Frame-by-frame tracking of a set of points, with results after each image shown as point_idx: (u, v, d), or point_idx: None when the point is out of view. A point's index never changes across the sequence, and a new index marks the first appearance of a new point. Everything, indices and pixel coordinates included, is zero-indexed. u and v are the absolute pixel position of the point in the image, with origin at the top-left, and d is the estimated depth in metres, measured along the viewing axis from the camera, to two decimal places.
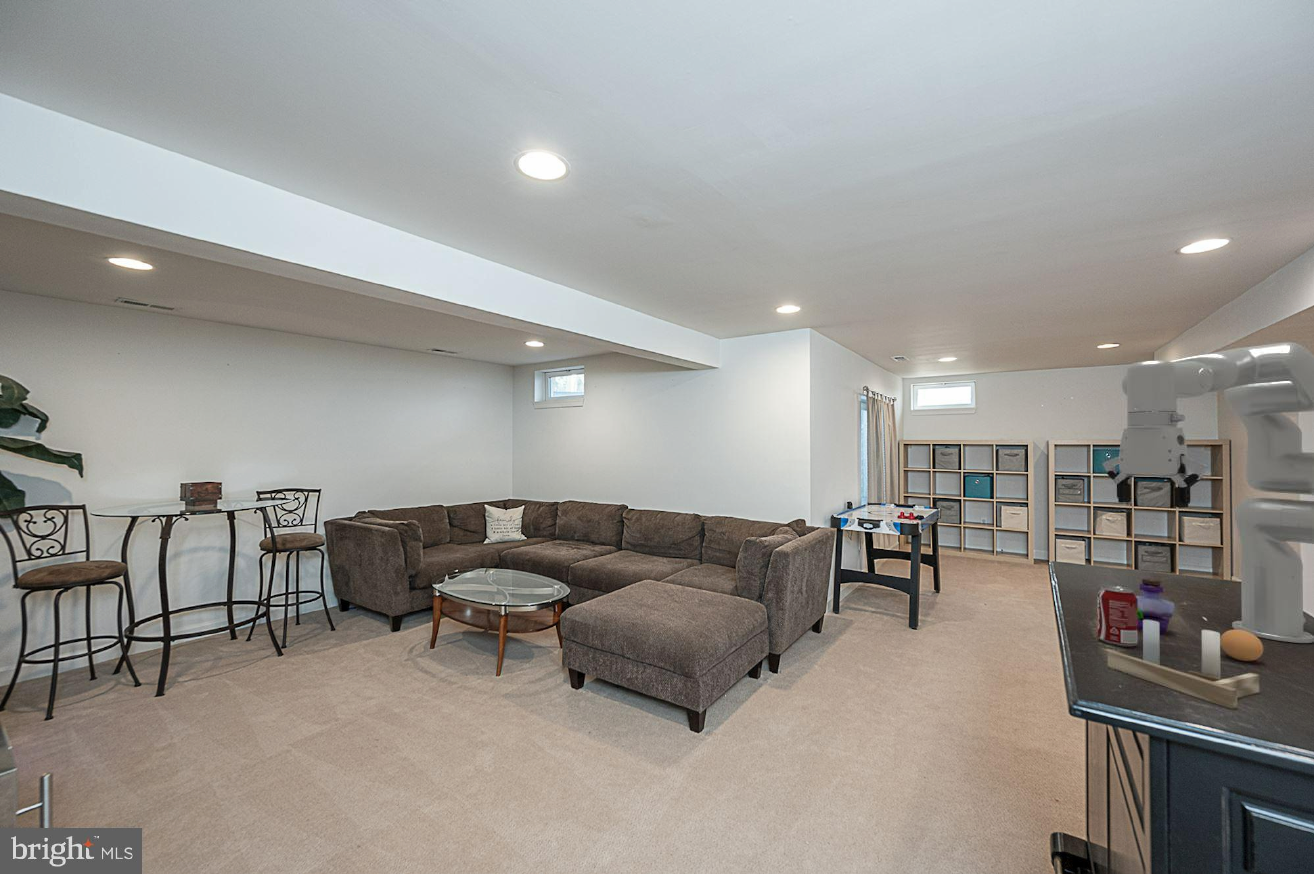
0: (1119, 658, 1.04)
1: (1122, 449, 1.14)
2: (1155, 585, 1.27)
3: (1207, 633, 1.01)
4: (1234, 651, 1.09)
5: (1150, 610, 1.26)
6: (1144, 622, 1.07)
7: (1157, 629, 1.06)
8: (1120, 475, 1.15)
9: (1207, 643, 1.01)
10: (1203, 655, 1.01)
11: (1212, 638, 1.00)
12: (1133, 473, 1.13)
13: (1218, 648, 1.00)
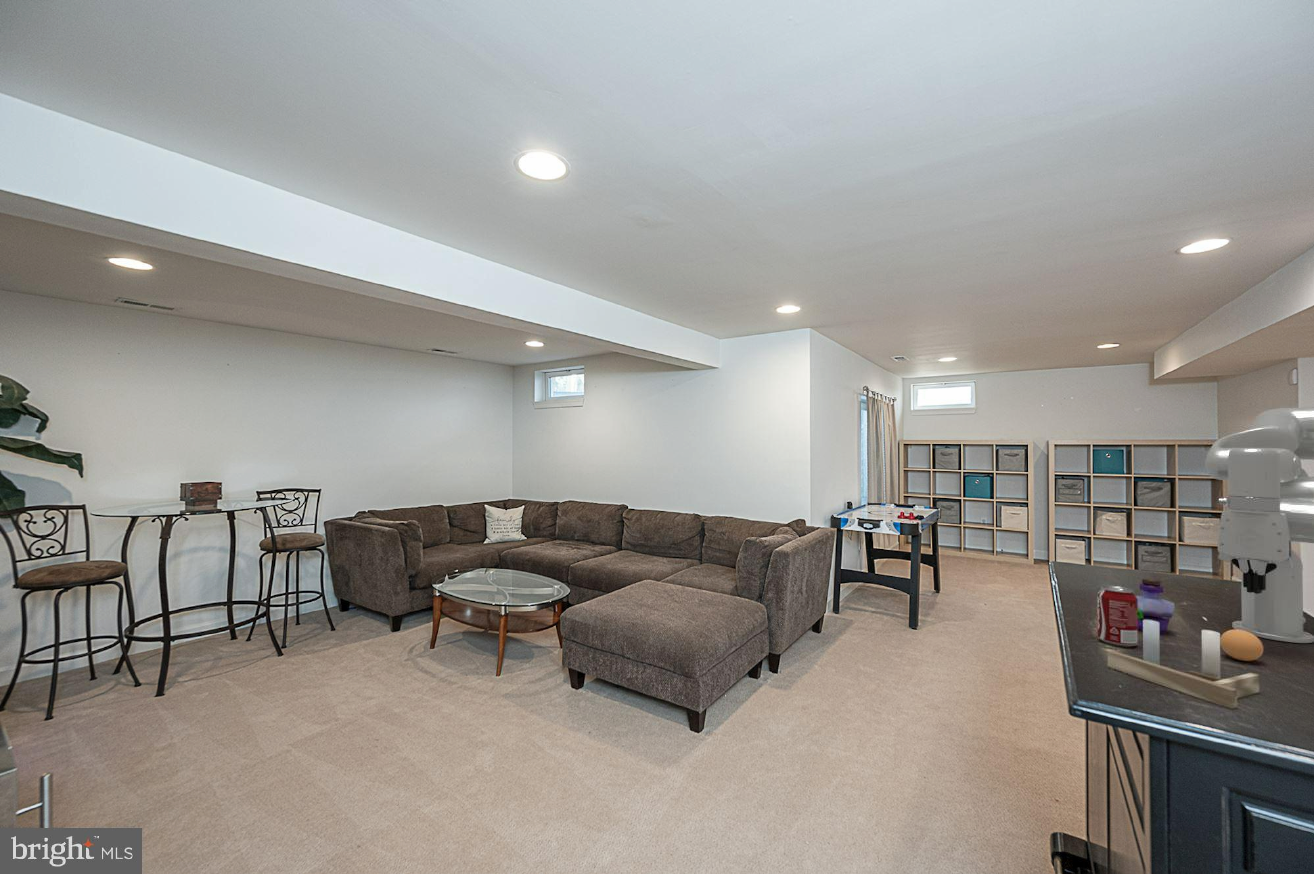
0: (1119, 658, 1.04)
1: None
2: (1155, 585, 1.27)
3: (1207, 633, 1.01)
4: (1234, 651, 1.09)
5: (1150, 610, 1.26)
6: (1144, 622, 1.07)
7: (1157, 629, 1.06)
8: None
9: (1207, 643, 1.01)
10: (1203, 655, 1.01)
11: (1212, 638, 1.00)
12: None
13: (1218, 648, 1.00)
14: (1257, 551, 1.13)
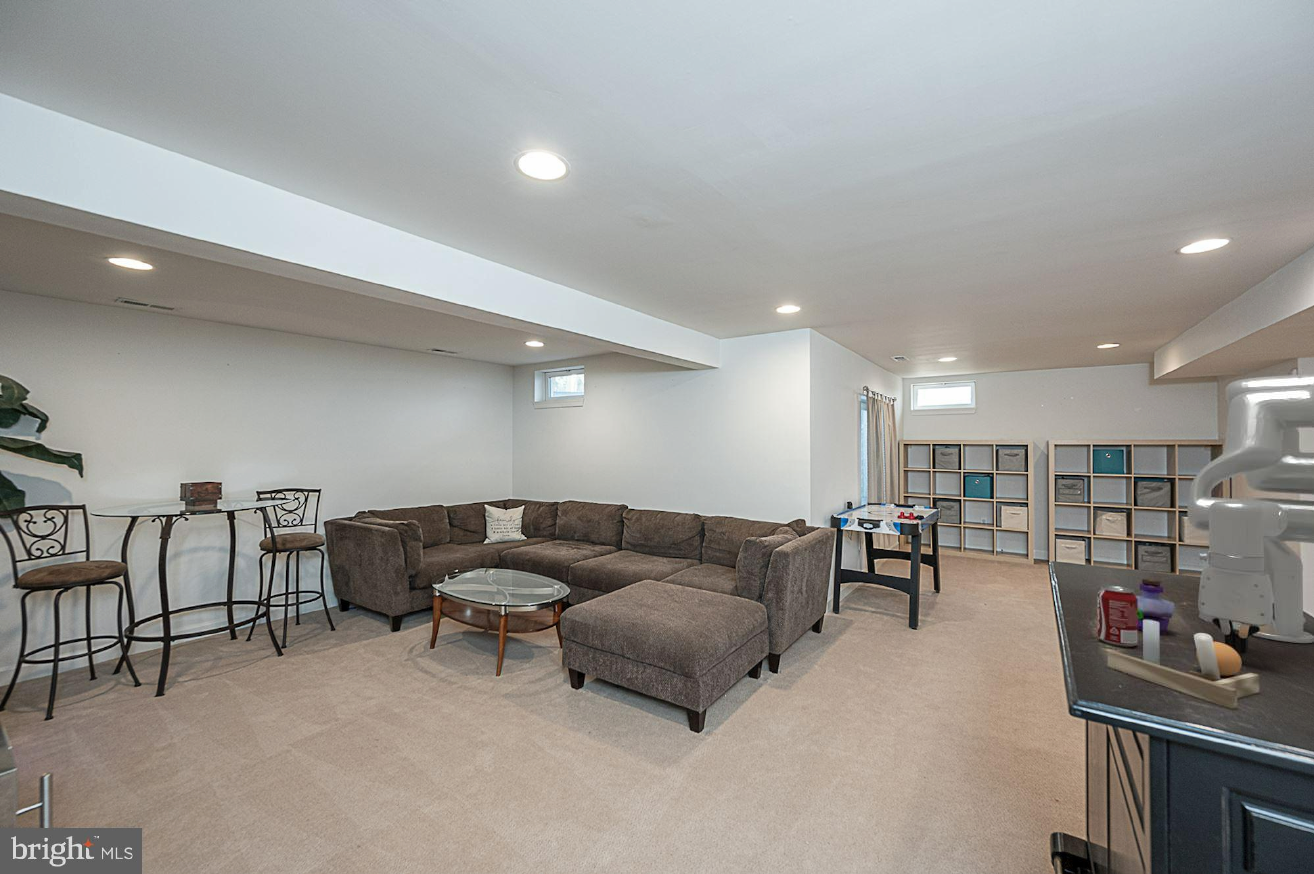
0: (1119, 658, 1.04)
1: None
2: (1155, 585, 1.27)
3: (1200, 641, 0.99)
4: (1215, 642, 1.03)
5: (1150, 610, 1.26)
6: (1144, 622, 1.07)
7: (1157, 629, 1.06)
8: None
9: (1202, 650, 0.99)
10: (1199, 658, 1.00)
11: (1205, 645, 0.98)
12: None
13: (1213, 652, 0.99)
14: (1239, 613, 1.06)
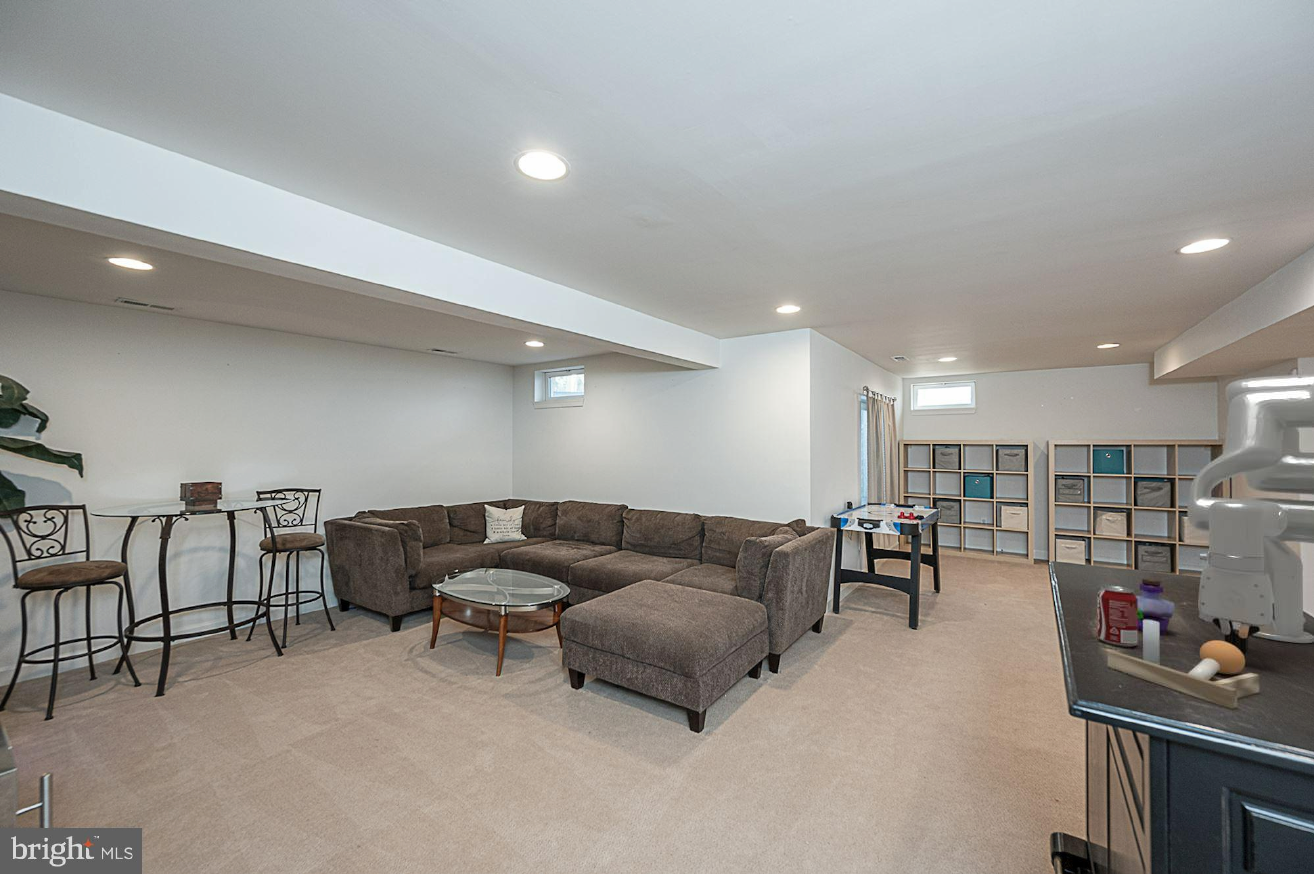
0: (1119, 658, 1.04)
1: None
2: (1155, 585, 1.27)
3: None
4: None
5: (1150, 610, 1.26)
6: (1144, 622, 1.07)
7: (1157, 629, 1.06)
8: None
9: None
10: None
11: None
12: None
13: (1208, 679, 0.97)
14: (1239, 613, 1.06)
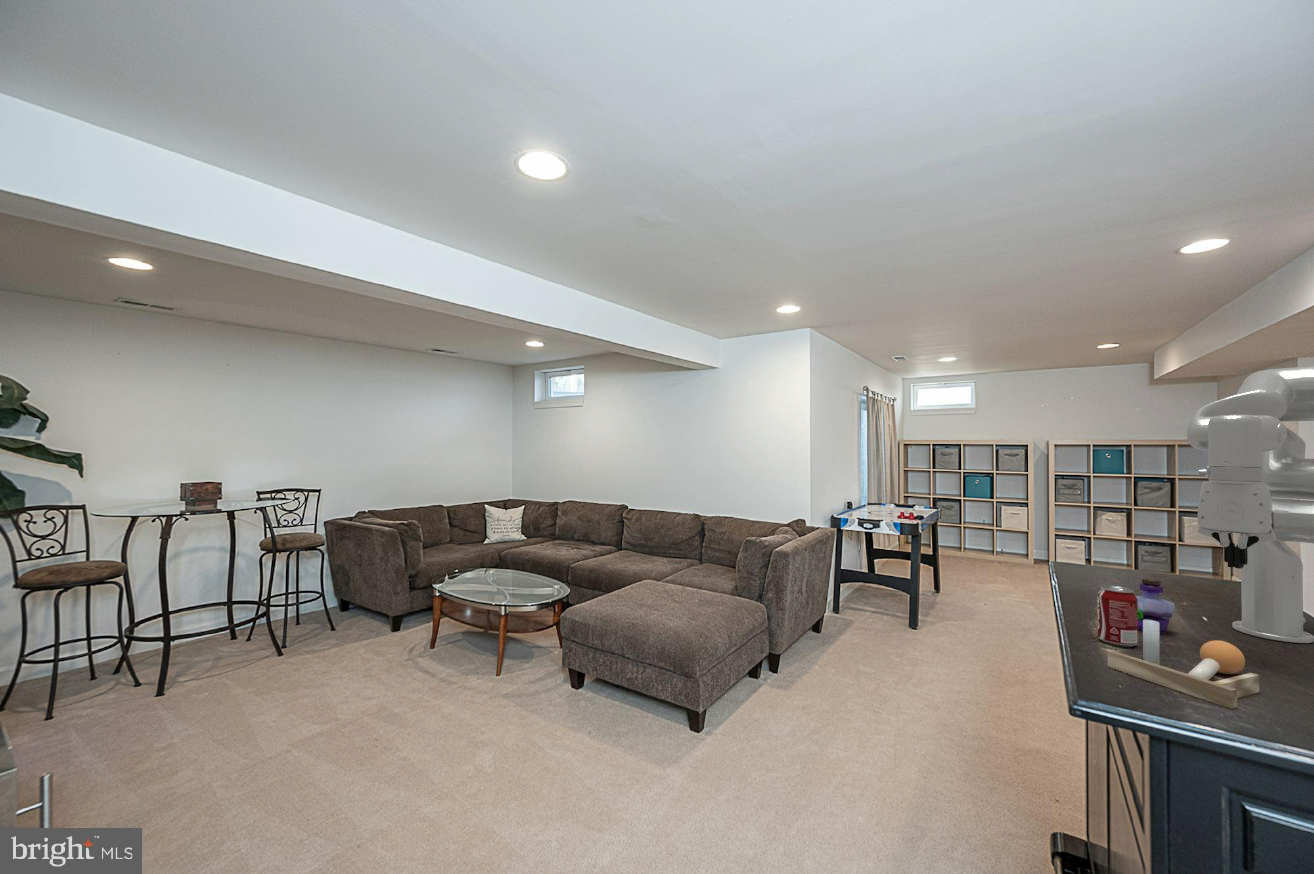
0: (1119, 658, 1.04)
1: None
2: (1155, 585, 1.27)
3: None
4: None
5: (1150, 610, 1.26)
6: (1144, 622, 1.07)
7: (1157, 629, 1.06)
8: None
9: None
10: None
11: None
12: None
13: (1208, 679, 0.97)
14: (1238, 523, 1.07)
